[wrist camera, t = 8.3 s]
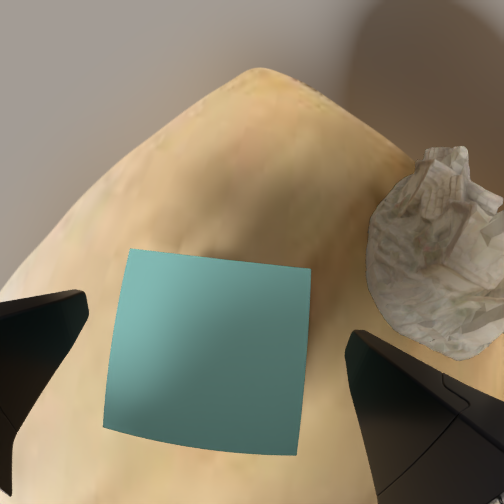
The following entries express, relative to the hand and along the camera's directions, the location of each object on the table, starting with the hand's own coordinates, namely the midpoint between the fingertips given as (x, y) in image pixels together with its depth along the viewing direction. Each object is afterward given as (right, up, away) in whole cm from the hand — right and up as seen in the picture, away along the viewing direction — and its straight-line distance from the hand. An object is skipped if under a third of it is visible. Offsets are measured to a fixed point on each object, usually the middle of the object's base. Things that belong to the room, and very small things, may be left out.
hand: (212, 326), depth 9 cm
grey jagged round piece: (+18, +1, +15) cm, 24 cm away
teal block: (0, -4, +7) cm, 8 cm away
